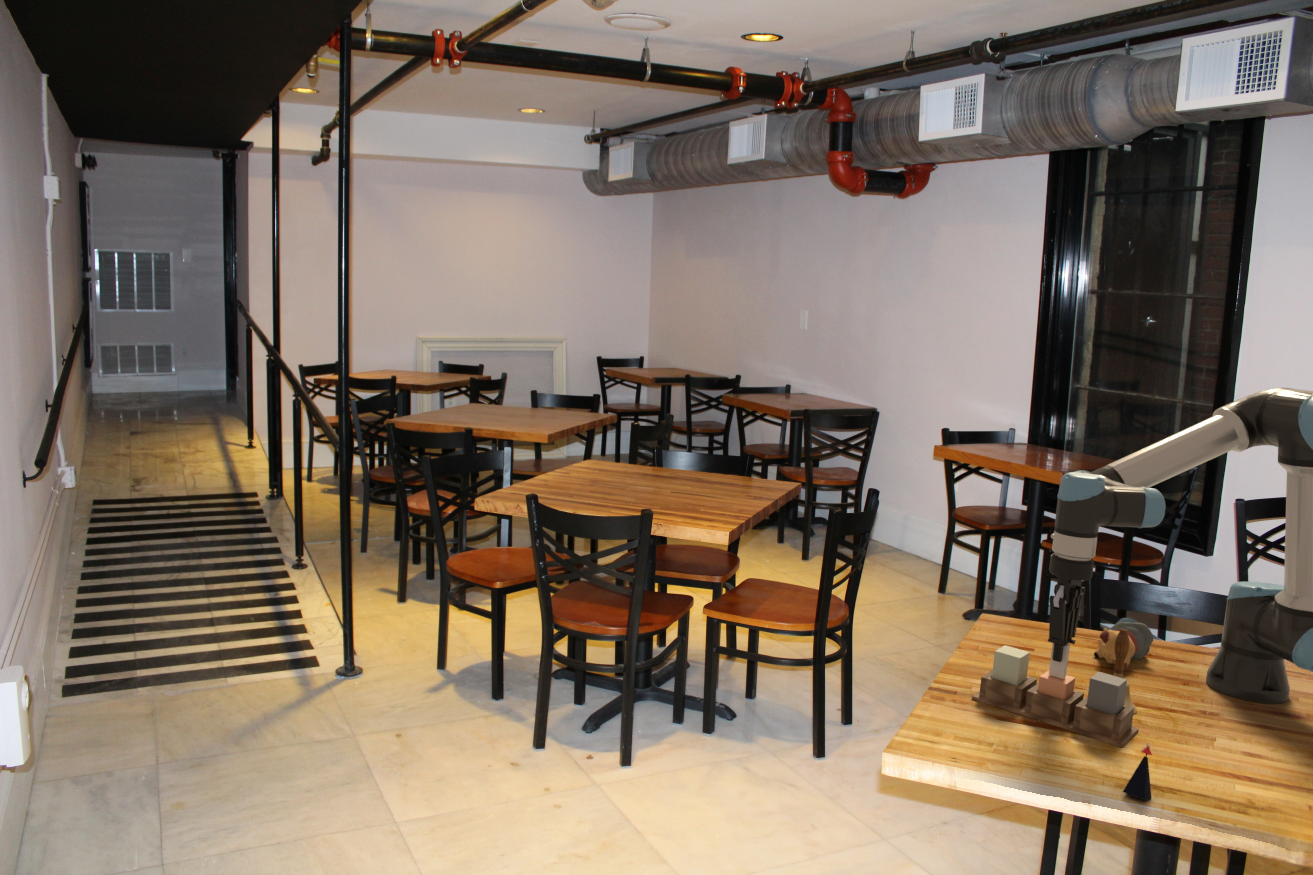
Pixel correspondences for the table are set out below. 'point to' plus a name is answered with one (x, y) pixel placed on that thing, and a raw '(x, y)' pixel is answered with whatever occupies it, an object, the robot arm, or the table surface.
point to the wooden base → (1058, 710)
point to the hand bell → (1122, 662)
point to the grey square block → (1106, 693)
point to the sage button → (1010, 665)
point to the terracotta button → (1056, 686)
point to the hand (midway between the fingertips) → (1057, 675)
